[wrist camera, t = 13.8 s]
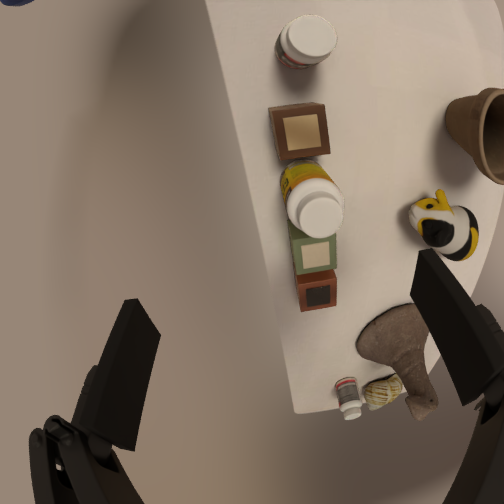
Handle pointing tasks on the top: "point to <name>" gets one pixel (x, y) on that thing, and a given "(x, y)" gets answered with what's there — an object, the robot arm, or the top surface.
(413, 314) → the sculpture
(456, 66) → the top surface
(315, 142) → the block near
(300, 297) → the block end
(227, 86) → the top surface
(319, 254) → the block far
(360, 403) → the pill bottle
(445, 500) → the robot arm
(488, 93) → the flower pot
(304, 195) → the supplement bottle
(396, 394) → the seashell
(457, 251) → the figurine
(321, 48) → the pill bottle
